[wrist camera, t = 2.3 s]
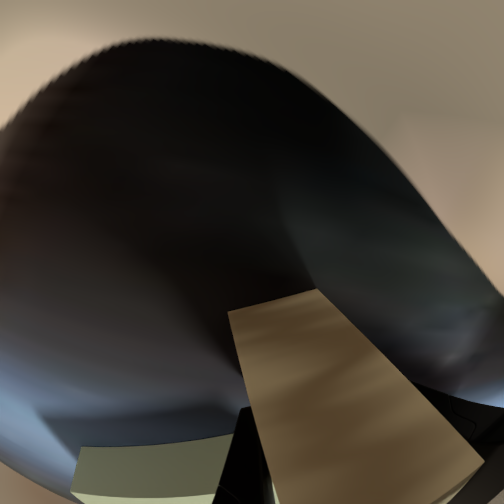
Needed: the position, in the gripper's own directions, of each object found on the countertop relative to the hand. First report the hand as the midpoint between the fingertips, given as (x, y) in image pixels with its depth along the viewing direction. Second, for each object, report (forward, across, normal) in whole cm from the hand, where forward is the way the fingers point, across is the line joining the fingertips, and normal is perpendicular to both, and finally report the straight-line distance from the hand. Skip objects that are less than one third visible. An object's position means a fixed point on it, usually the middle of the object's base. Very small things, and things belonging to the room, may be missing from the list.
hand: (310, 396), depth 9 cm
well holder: (+4, +8, +12) cm, 15 cm away
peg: (+4, 0, 0) cm, 4 cm away
